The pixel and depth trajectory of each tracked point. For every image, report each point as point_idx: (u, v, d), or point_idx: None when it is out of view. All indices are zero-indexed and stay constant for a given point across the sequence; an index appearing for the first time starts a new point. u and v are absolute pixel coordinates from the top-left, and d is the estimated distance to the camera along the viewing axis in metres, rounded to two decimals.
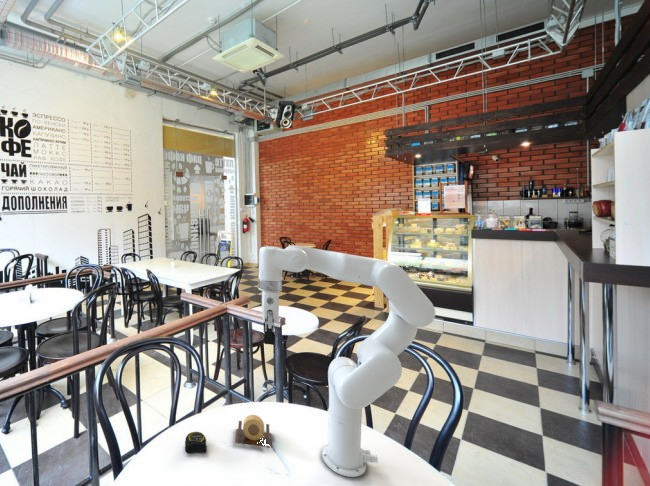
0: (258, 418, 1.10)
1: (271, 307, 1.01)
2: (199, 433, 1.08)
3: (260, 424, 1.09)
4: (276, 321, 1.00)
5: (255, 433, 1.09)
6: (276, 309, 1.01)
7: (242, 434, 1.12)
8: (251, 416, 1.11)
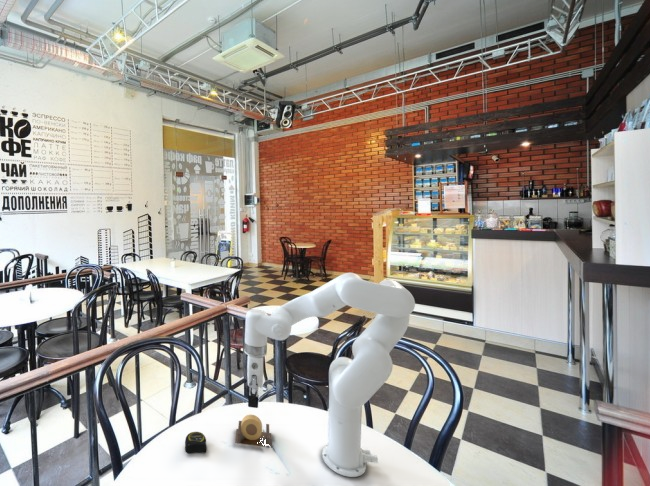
0: (254, 417, 1.11)
1: (255, 372, 1.05)
2: (199, 433, 1.08)
3: (257, 422, 1.09)
4: (260, 386, 1.05)
5: (253, 432, 1.09)
6: (260, 374, 1.05)
7: (242, 434, 1.12)
8: (247, 416, 1.11)
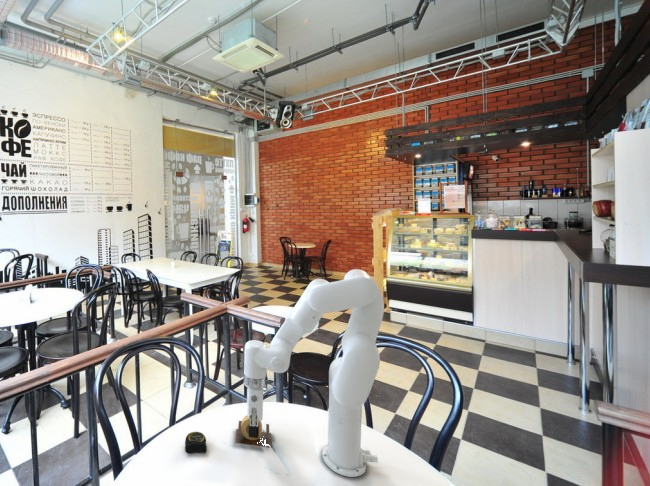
0: None
1: (255, 405, 1.05)
2: (199, 433, 1.08)
3: None
4: (260, 418, 1.05)
5: None
6: (260, 407, 1.05)
7: (242, 434, 1.12)
8: (247, 416, 1.11)
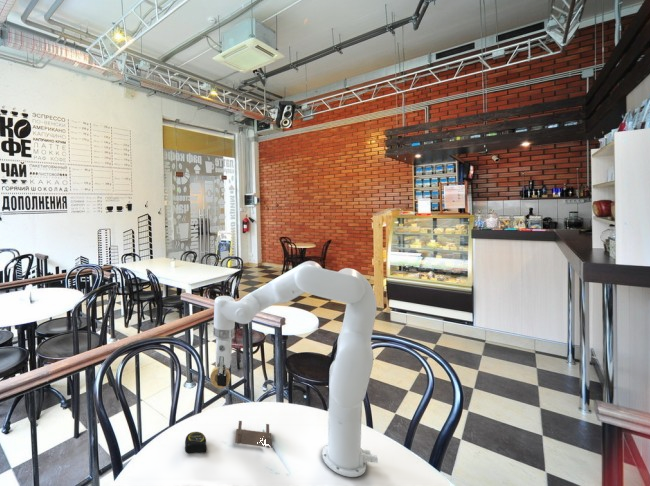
0: None
1: (223, 354, 1.12)
2: (199, 433, 1.08)
3: None
4: (227, 366, 1.12)
5: None
6: (227, 356, 1.12)
7: (242, 434, 1.12)
8: (216, 367, 1.17)
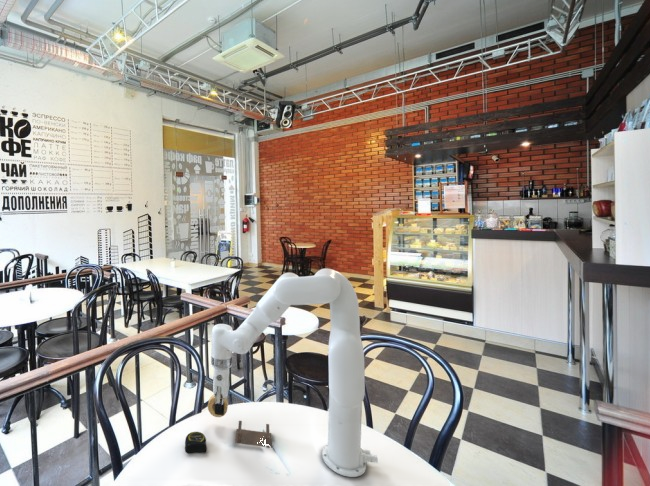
0: None
1: (220, 383, 1.12)
2: (199, 433, 1.08)
3: None
4: (224, 396, 1.12)
5: None
6: (224, 385, 1.12)
7: (242, 434, 1.12)
8: None
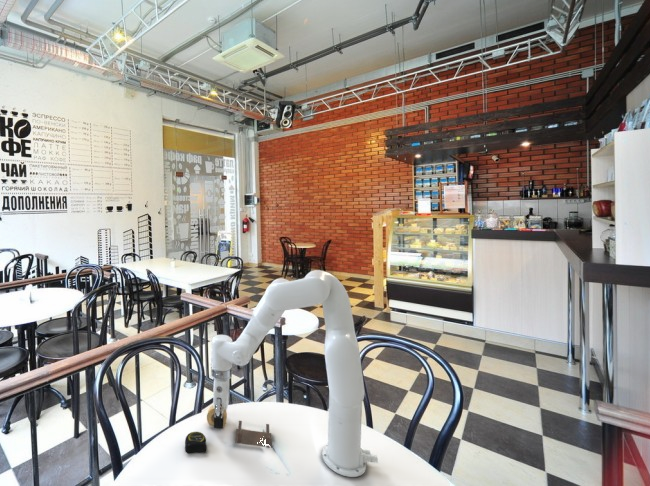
0: None
1: (220, 395, 1.12)
2: (199, 433, 1.08)
3: (220, 411, 1.16)
4: (224, 408, 1.12)
5: None
6: (224, 397, 1.12)
7: (242, 434, 1.12)
8: (212, 406, 1.18)
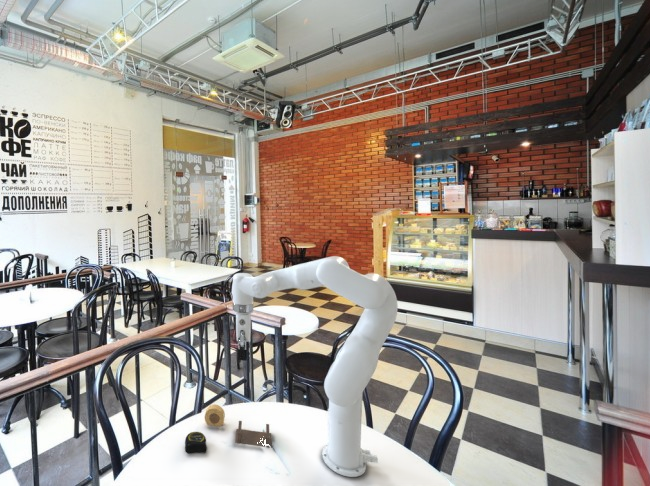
0: (214, 406, 1.18)
1: (243, 327, 1.15)
2: (199, 433, 1.08)
3: (217, 410, 1.16)
4: (248, 340, 1.15)
5: (217, 420, 1.16)
6: (247, 329, 1.15)
7: (242, 434, 1.12)
8: (208, 407, 1.18)
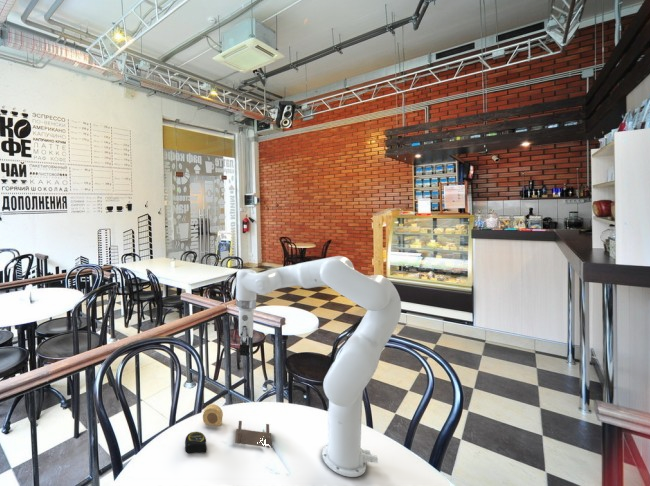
0: (210, 406, 1.18)
1: (246, 323, 1.16)
2: (199, 433, 1.08)
3: (213, 409, 1.16)
4: (250, 335, 1.16)
5: (215, 420, 1.16)
6: (250, 325, 1.16)
7: (242, 434, 1.12)
8: (205, 408, 1.18)
